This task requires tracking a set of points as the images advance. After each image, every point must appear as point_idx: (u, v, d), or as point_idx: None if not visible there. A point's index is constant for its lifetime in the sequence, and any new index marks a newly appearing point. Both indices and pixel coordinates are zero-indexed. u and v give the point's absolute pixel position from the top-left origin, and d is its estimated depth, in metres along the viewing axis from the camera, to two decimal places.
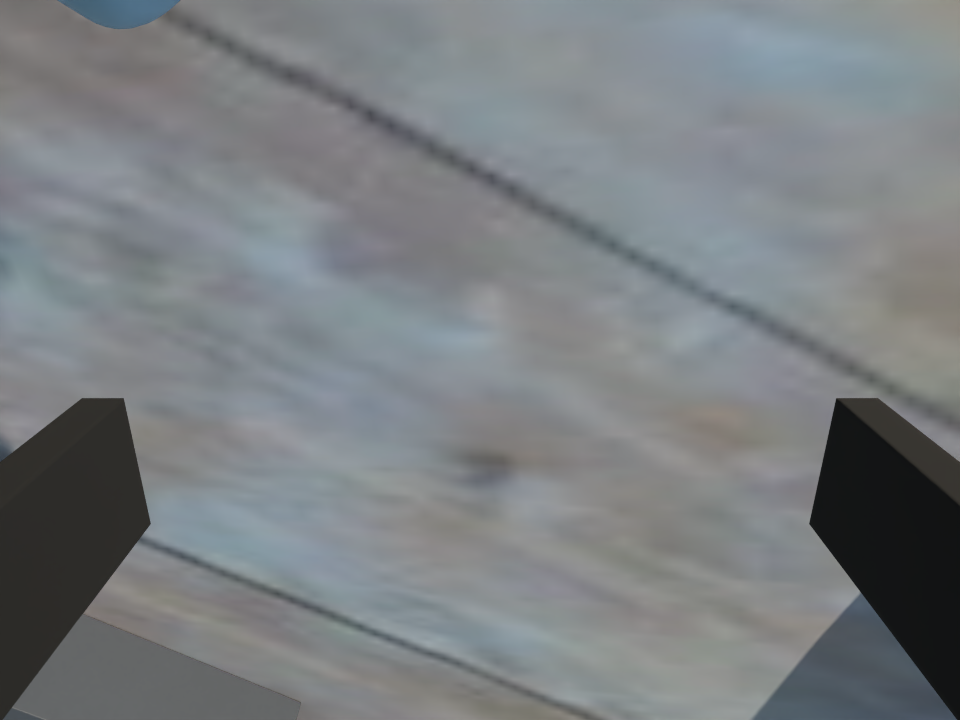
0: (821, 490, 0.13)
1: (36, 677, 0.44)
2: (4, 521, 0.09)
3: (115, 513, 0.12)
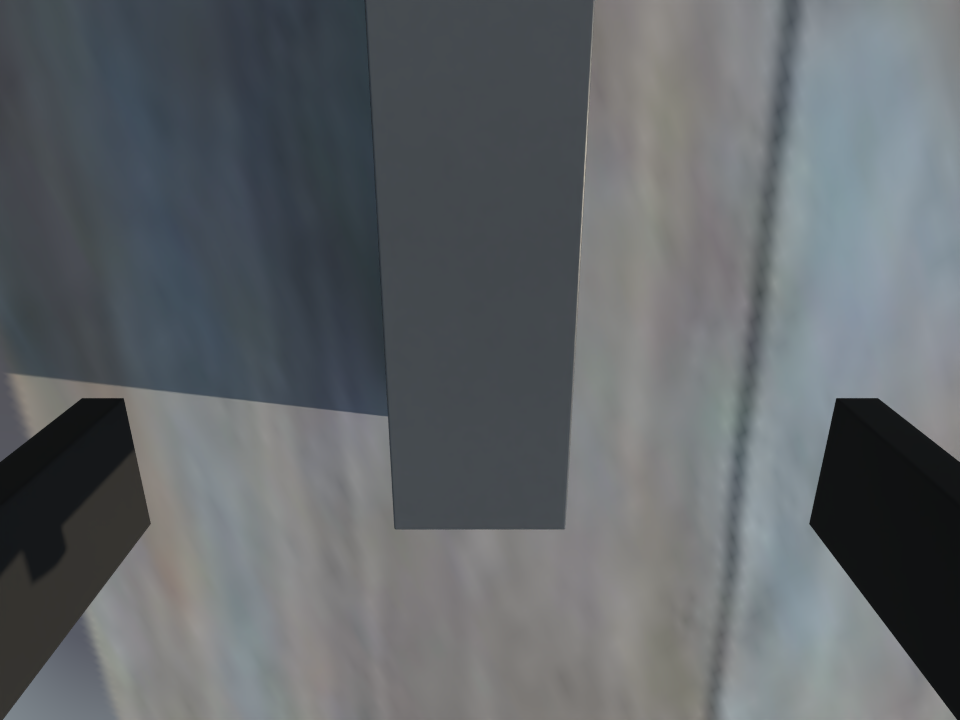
0: (821, 491, 0.13)
1: None
2: (3, 521, 0.09)
3: (115, 513, 0.12)
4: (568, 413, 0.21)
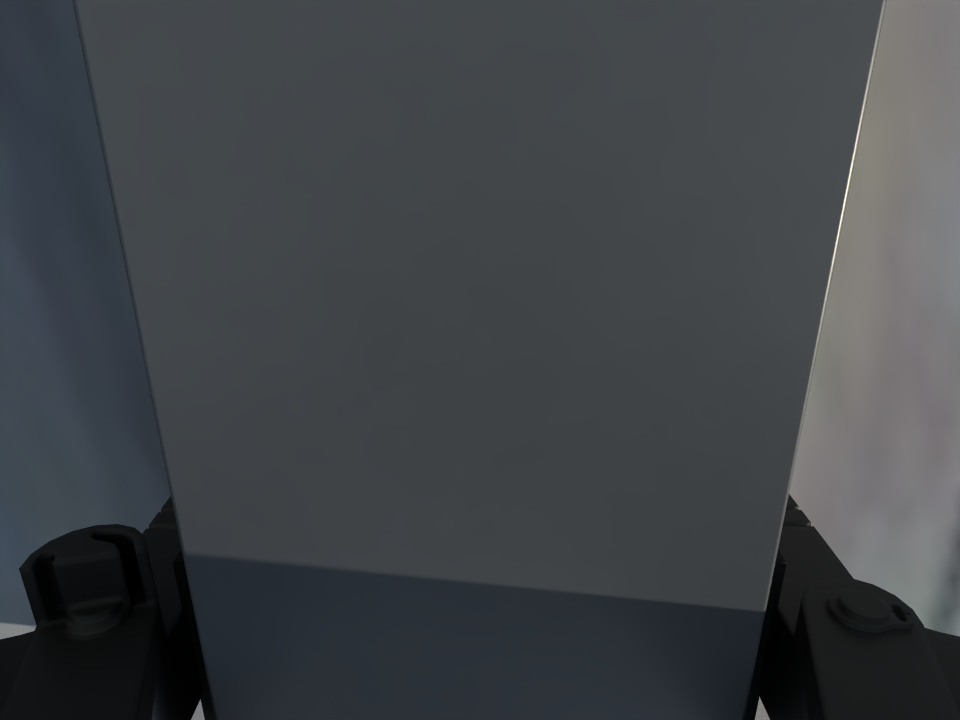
0: None
1: None
2: None
3: None
4: None
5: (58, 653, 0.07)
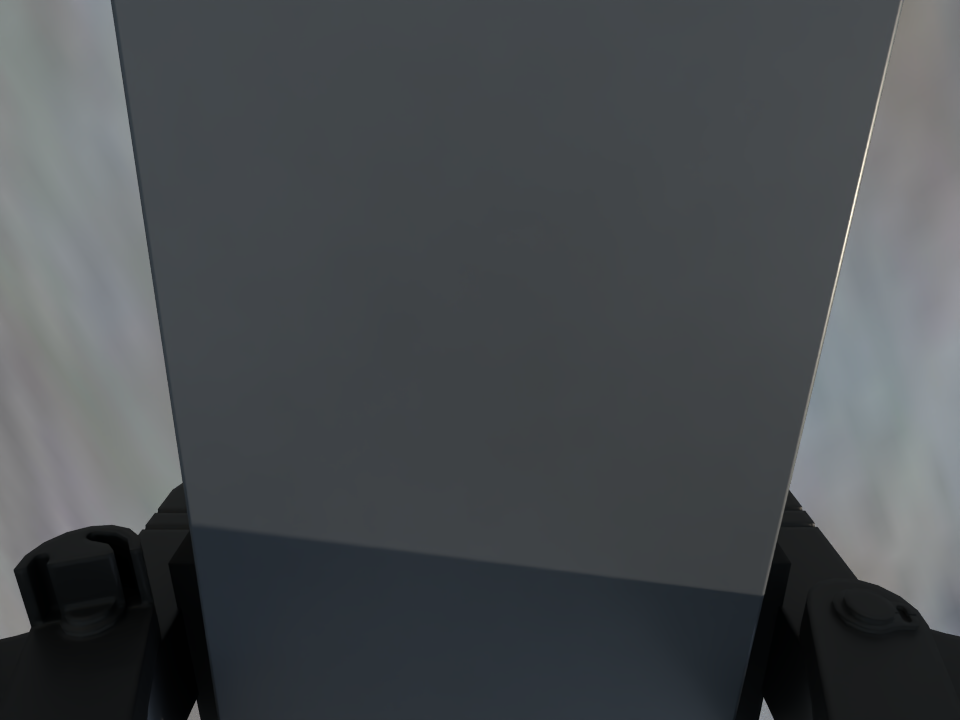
0: None
1: None
2: None
3: None
4: None
5: (53, 654, 0.07)
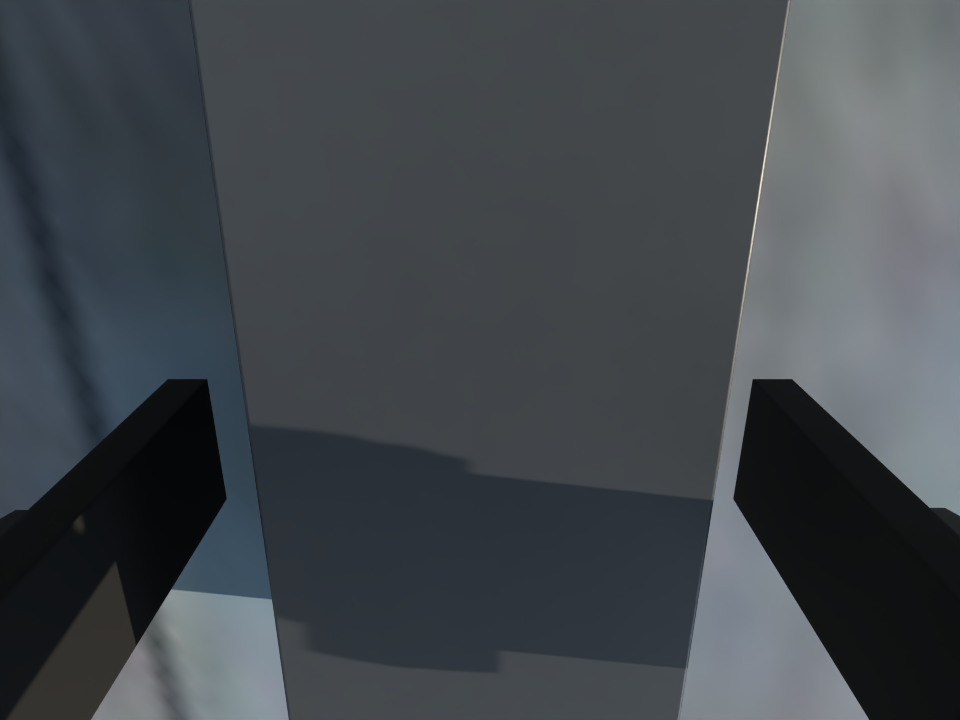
0: (741, 467, 0.14)
1: None
2: (122, 486, 0.10)
3: (201, 486, 0.13)
4: None
5: None
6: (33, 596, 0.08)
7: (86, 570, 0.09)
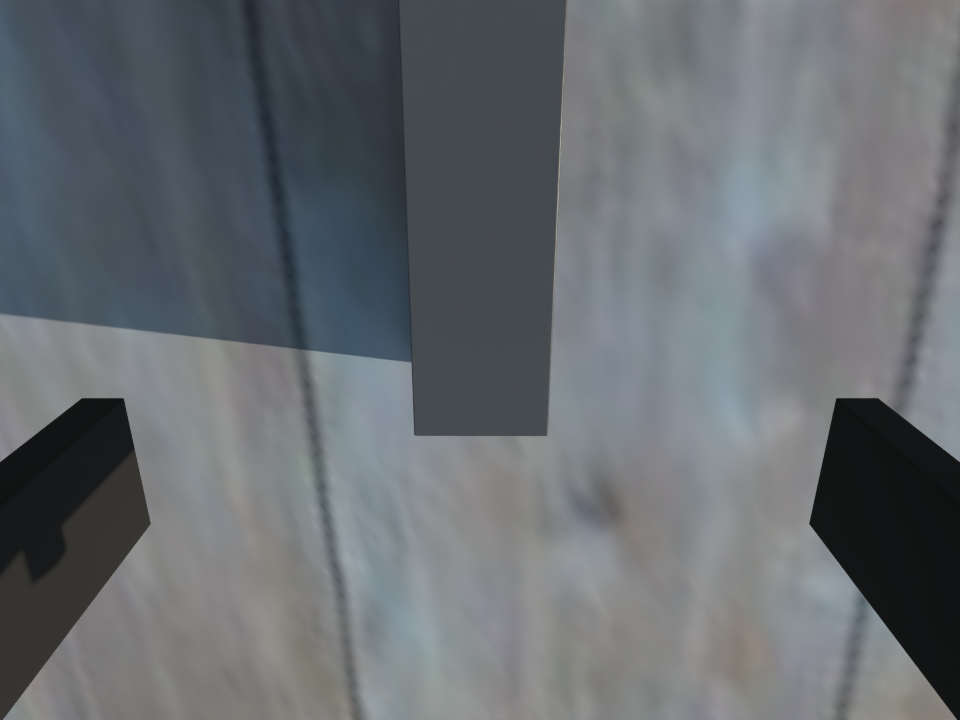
0: (820, 491, 0.13)
1: None
2: (4, 521, 0.09)
3: (115, 513, 0.12)
4: (549, 342, 0.28)
5: None
6: None
7: None
